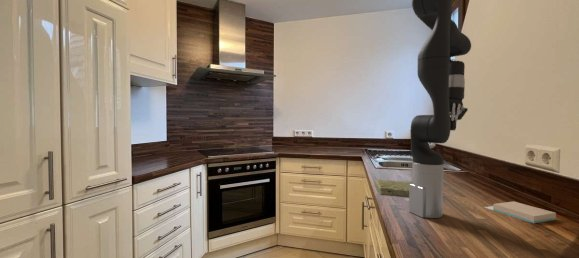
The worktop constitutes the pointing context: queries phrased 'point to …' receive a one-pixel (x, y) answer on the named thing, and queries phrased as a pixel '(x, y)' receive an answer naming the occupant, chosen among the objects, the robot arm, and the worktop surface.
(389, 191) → the decorative tile
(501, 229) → the worktop surface
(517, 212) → the tile
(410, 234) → the worktop surface
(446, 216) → the worktop surface
